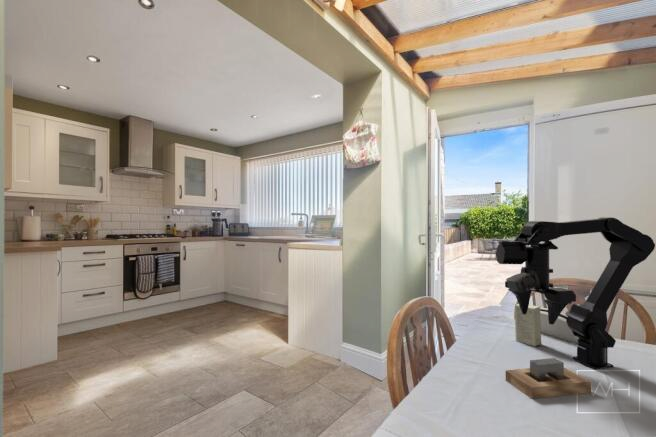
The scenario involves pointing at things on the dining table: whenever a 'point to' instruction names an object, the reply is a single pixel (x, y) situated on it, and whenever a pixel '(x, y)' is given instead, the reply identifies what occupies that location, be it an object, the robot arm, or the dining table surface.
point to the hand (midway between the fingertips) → (537, 318)
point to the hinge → (556, 326)
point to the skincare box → (528, 325)
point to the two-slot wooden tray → (548, 384)
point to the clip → (546, 369)
